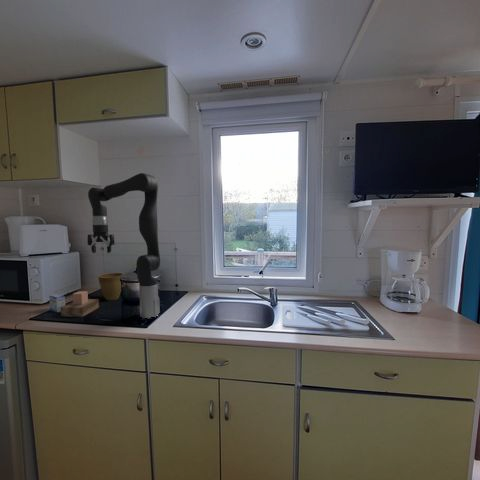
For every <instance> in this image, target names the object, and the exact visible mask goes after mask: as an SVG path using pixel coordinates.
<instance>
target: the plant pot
mask: <svg viewBox="0 0 480 480" xmlns="http://www.w3.org/2000/svg"><path fill="white" fill-rule="evenodd" d="M122 275H124V276H125V273H122V272H111V273H102V274H100V275H98V276H97V278H98V283H99V287H100V288H101V292H102V295H103V298H104V299H105V301H116V300H118V299H119V297H120V294H121V292H122V289H121V282H120V277H121V276H122Z"/></svg>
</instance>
